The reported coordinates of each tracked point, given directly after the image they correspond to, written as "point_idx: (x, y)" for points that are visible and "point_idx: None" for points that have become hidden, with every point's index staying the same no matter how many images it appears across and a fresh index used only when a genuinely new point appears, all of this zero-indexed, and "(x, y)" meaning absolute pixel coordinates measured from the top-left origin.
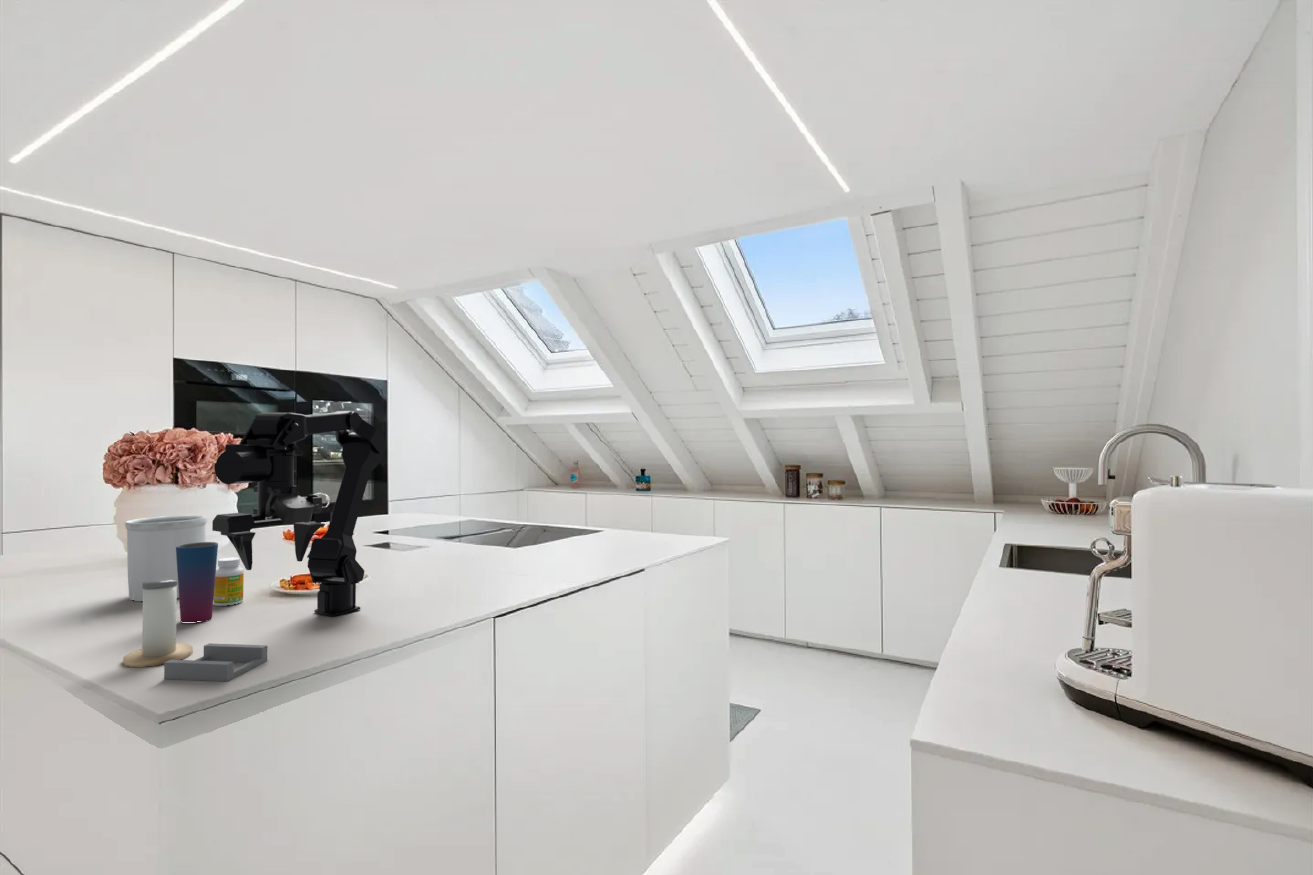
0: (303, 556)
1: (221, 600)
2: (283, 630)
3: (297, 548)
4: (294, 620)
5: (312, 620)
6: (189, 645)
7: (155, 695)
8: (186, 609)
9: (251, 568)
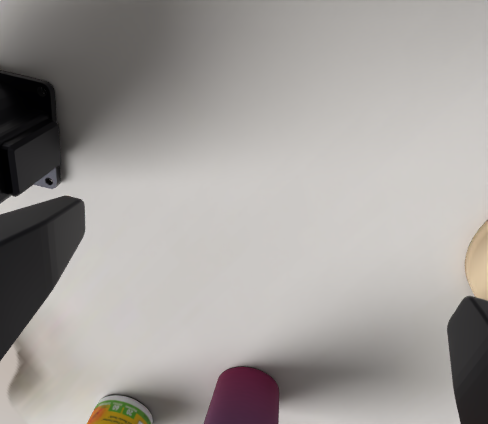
0: (39, 204)
1: (144, 422)
2: (234, 126)
3: (19, 302)
4: (142, 179)
5: (114, 124)
6: (484, 241)
7: None
8: (277, 419)
9: (475, 298)
